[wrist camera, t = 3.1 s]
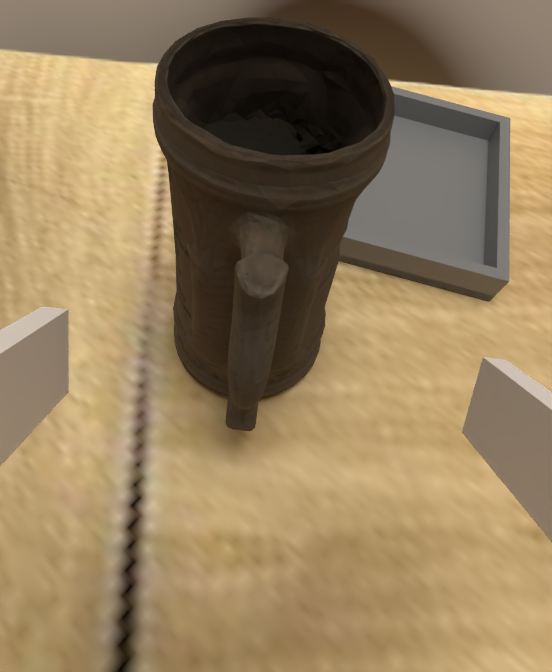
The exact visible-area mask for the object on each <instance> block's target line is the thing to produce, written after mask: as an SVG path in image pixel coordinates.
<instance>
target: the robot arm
mask: <svg viewBox="0 0 552 672" xmlns="http://www.w3.org/2000/svg"><path fill="white" fill-rule="evenodd" d="M67 393H68V309H61V308H52V307H44V306H42V307H40V308H39V309H37V310H35V311H33V312H32V313H30V314H28V315H26V316H24V317H23V318H21V319H19V320H17V321H15V322H14V323H12V324H10V325H8V326H7V327H5V328H3V329H1V330H0V466H1V465H2V464H3V463H4V462H5V460H6V459H7V458H8V457H9V456H10V455H11V454H12V453H13V452H14V451H15V450H16V448H17V447H18V446H19V445H20V444H21V443H22V442H23V441H24V440H25V439H26V438H27V437H28V435H29V434H30V433H31V432H32V431H33V430H34V429H35V428H36V427H37V426H38V425H39V423H40V422H41V421H42V420H43V419H44V418H45V417H46V416H47V415H48V414H49V413H50V412H51V410H52V409H53V408H54V407H55V406H56V405H57V404H58V403H59V402H60V401H61V400H62V398H63V397H64V396H65V395H66V394H67ZM462 433H463V434H464V435H465V437H466V438H467V439H468V440H469V442H470V443H471V444H472V445H473V446H474V448H475V449H476V450H477V451H478V453H479V454H480V455H481V456H482V457H483V459H484V460H485V461H486V462H487V464H488V465H489V466H490V467H491V468H492V470H493V471H494V472H495V473H496V475H497V476H498V477H499V478H500V479H501V481H502V482H503V483H504V484H505V486H506V487H507V488H508V489H509V490H510V492H511V493H512V494H513V495H514V496H515V498H516V499H517V500H518V501H519V503H520V504H521V505H522V506H523V507H524V509H525V510H526V511H527V512H528V514H529V515H530V516H531V517H532V518H533V520H534V521H535V522H536V523H537V525H538V526H539V527H540V528H541V529H542V531H543V532H544V533H545V534H546V536H547V537H548V538H549V539H550V540H551V542H552V392H551V391H549V390H548V389H546V388H545V387H544V386H542V385H541V384H539V383H538V382H537V381H535V380H534V379H532V378H531V377H529V376H528V375H527V374H525V373H524V372H522V371H521V370H520V369H518V368H517V367H515V366H514V365H513V364H511V363H510V362H508V361H507V360H504V359H496V358H487V357H483V359H482V363H481V366H480V370H479V373H478V377H477V381H476V384H475V388H474V391H473V395H472V398H471V402H470V406H469V409H468V413H467V416H466V420H465V423H464V427H463V431H462Z"/></svg>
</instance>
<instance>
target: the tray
mask: <svg viewBox="0 0 552 672" xmlns="http://www.w3.org/2000/svg"><path fill="white" fill-rule="evenodd" d="M391 87H392V86H391ZM392 90H393V92H394V103H395V116H394V120H393V125H392V129H391V141H390V145H389V149H388V152H387V156H386V159H385V161H384V164H383V166H382V168H381V170H380V172H379V173H378V174H377V176H376V177H375V178H374V179H373V180H372V181H371V183H370V184H369V185H368V186H367V187H366V188H365V189H364V190H363V192H362V193H361V194H360V195H359V197H358V198H357V199H356V201H355V204H354V206H353V209H352V212H351V215H350V217H349V221H348V226H347V230H346V232H345V234H344V236H343V238H342V241H341V244H340V255H339V261H342V262H346V263H350V264H353V265H357V266H361V267H364V268H368V269H372V270H375V271H379V272H383V273H387V274H390V275H394V276H398V277H401V278H405V279H409V280H412V281H416V282H420V283H424V284H427V285H431V286H435V287H438V288H442V289H446V290H449V291H453V292H457V293H460V294H464V295H468V296H472V297H475V298H479V299H483V300H486V301H490V300H491V299H492V298H493V297H494V296H495V295H496V294H497V293H498V292H499V291H500V290H501V289H502V288H503V287H504V286H505V285H506V284H507V283H508V282H509V217H510V118H507V117H504V116H500V115H496V114H492V113H489V112H485V111H481V110H477V109H474V108H470V107H466V106H463V105H459V104H455V103H451V102H448V101H444V100H440V99H436V98H433V97H429V96H425V95H421V94H418V93H414V92H410V91H407V90H403V89H399V88H395V87H392Z"/></svg>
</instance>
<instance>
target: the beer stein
mask: <svg viewBox="0 0 552 672" xmlns="http://www.w3.org/2000/svg"><path fill="white" fill-rule="evenodd" d="M394 116H395V103H394V92H393V90H392V87H391V85H390V83H389V81H388V79H387V77H386V75H385V74H384V72H383V71H382V69H381V68H380V67H379V65H378V64H377V62H376V61H375V59H374V58H372V57H371V56H370V55H369V54H367V53H366V52H365V51H364V50H362V49H361V48H359V47H358V46H356V45H355V44H353V43H352V42H351V41H349V40H347V39H345V38H343V37H341V36H339V35H337V34H335V33H333V32H330V31H329V30H326V29H323V28H320V27H317V26H314V25H311V24H308V23H301V22H295V21H288V20H281V19H274V18H242V19H234V20H226V21H219V22H216V23H213V24H210V25H206V26H203V27H200V28H197V29H195V30H194V31H192V32H190V33H188V34H187V35H185V36H183V37H182V38H180V39H179V40H177V41H175V42H174V44H173V45H172V46H171V47H170V48H169V49H168V50H167V51H166V53H165V54H164V55H163V57H162V59H161V61H160V62H159V64H158V66H157V70H156V76H155V99H154V102H153V123H154V129H155V135H156V138H157V141H158V143H159V145H160V148H161V150H162V152H163V154H164V156H165V157H166V159H167V165H168V172H169V183H170V193H171V204H172V215H173V227H174V240H175V252H176V282H177V292H176V297H175V302H174V307H173V310H174V321H175V325H174V336H175V344H176V348H177V351H178V354H179V356H180V358H181V360H182V362H183V363H184V365H185V367H186V368H187V370H188V371H189V372H190V373H191V374H192V375H193V376H194V377H195V378H196V379H198V380H199V381H200V382H201V383H203V384H205V385H206V386H208V387H210V388H211V389H214V390H216V391H218V392H221V393H223V394H226V395H228V405H227V414H226V425H227V427H229V428H232V429H235V430H244V431H251V430H253V429H254V428H255V424H256V416H257V408H258V402H259V400H260V399H261V397H264V396H269V395H273V394H276V393H278V392H281V391H283V390H285V389H287V388H289V387H292V386H293V385H294V384H295V383H297V382H298V381H299V380H300V379H301V378H302V377H304V376H305V375H306V374H307V372H308V371H309V370H310V368H311V367H312V366H313V364H314V361H315V359H316V357H317V354H318V352H319V347H320V339H321V337H322V334H323V330H324V327H325V304H326V301H327V297H328V294H329V291H330V288H331V284H332V281H333V278H334V274H335V271H336V267H337V264H338V260H339V255H340V244H341V241H342V238H343V236H344V234H345V232H346V230H347V226H348V221H349V217H350V215H351V212H352V209H353V206H354V204H355V201H356V199H357V198H358V197H359V195H360V194H361V193H362V192H363V190H364V189H365V188H366V187H367V186H368V185H369V184H370V183H371V181H372V180H373V179H374V178H375V177H376V176H377V174H378V173H379V172H380V170H381V168H382V166H383V164H384V161H385V159H386V156H387V152H388V149H389V145H390V141H391V129H392V125H393V120H394Z"/></svg>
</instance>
